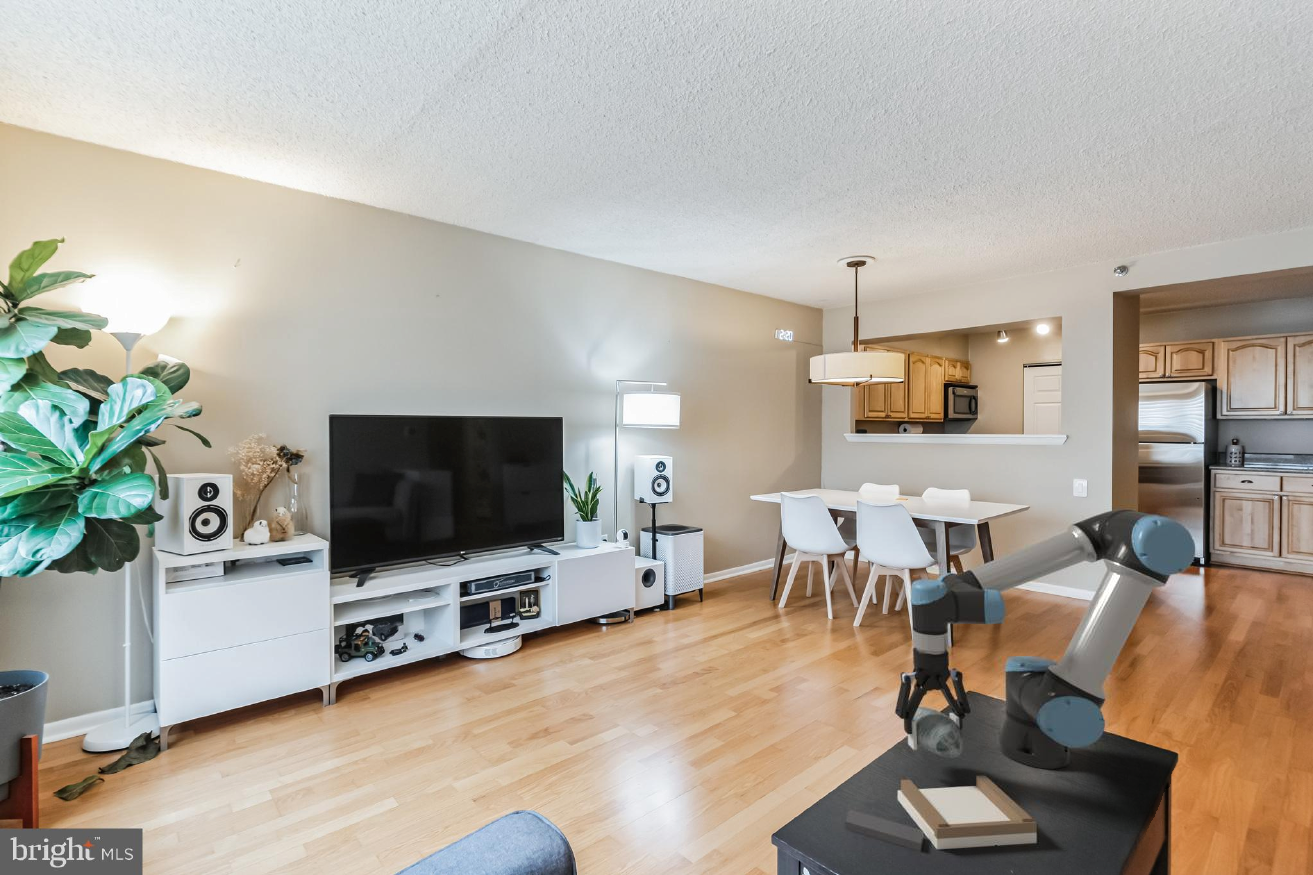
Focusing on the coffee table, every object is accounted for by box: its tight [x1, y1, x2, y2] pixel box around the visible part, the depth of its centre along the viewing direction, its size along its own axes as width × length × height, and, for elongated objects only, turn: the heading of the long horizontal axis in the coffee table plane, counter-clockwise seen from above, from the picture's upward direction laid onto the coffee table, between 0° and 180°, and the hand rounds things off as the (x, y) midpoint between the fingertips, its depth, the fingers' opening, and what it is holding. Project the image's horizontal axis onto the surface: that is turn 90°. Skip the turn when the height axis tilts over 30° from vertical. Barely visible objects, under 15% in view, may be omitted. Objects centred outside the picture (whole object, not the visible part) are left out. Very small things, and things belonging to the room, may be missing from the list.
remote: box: [844, 809, 924, 852], centre depth 123 cm, size 4×14×2 cm, turn 61°
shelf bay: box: [897, 775, 1038, 850], centre depth 127 cm, size 20×16×4 cm
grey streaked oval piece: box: [913, 706, 964, 759], centre depth 144 cm, size 14×10×10 cm
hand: (933, 745), depth 144 cm, fingers closed on grey streaked oval piece, 9 cm apart
